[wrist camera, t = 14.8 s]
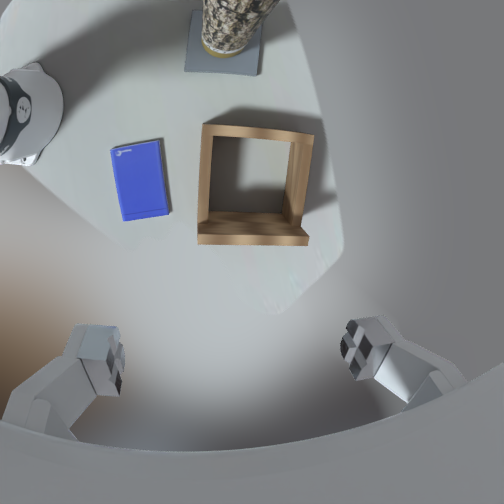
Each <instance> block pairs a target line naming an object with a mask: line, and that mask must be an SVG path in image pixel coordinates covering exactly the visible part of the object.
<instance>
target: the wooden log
mask: <svg viewBox="0 0 504 504" xmlns="http://www.w3.org/2000/svg"><path fill="white" fill-rule="evenodd" d="M279 1H280V0H203V14H202V39H201V40H202V45H203V47H204V49H205V50H206V51H207V52H208V53H209V54H210V55H212V56H214V57H218V58H230V57H233V56H235V55H237V54H239V53H240V52H241V51H242V50H243V49H244V47H245V46H246V45H247V43H248V42H249V40H250V39H251V38H252V36H253V35H254V33H255V32H256V31H257V29H258V28H259V27H260V25H261V24H262V23H263V21H264V20H265V19H266V17H267V16H268V15H269V13H270V12H271V11H272V9H273V8H274V7H275V6H276V4H277V3H278V2H279Z"/></svg>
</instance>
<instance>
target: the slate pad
mask: <svg viewBox="0 0 504 504" xmlns="http://www.w3.org/2000/svg"><path fill="white" fill-rule="evenodd" d="M202 14H203V10H193V11H192V18H191V24H190V31H189V38H188V45H187V53H186V61H185V69H184V71H185V72H208V73H225V74H237V75H247V76H257V67H258V58H259V49H260V40H261V31H262V24H261V25H260V27H259V28H258V29H257V31H256V32H255V33H254V35H253V36H252V38H251V39H250V40H249V42H248V43H247V45H246V46H245V47H244V49H243V50H242V51H241V52H240V53H239V54H237V55H235V56H233V57H230V58H218V57H214V56H212V55H210V54H209V53H208V52H207V51H206V50H205V49H204V47H203V45H202V40H201V39H202Z"/></svg>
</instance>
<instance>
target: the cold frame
mask: <svg viewBox="0 0 504 504" xmlns="http://www.w3.org/2000/svg"><path fill="white" fill-rule="evenodd" d="M213 136H231V137H245V138H257V139H268V140H278V141H286V142H291V146H290V154H289V161H288V169H287V177H286V185H285V192H284V199H283V207H282V214H281V213H257V212H226V211H208V208H209V189H210V172H211V157H212V143H213ZM313 142H314V135H311V134H306V133H301V132H294V131H286V130H278V129H269V128H259V127H248V126H236V125H220V124H202V137H201V152H200V169H199V189H198V216H197V238H198V244H204V245H281V246H308V241H309V236H308V234H307V233H306V232H305V231H304V230H303V229H302V227H301V221H302V215H303V209H304V203H305V197H306V190H307V184H308V177H309V170H310V163H311V156H312V149H313Z"/></svg>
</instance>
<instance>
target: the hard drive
mask: <svg viewBox="0 0 504 504" xmlns="http://www.w3.org/2000/svg"><path fill="white" fill-rule="evenodd" d="M110 151H111V158H112V165H113V171H114V177H115V183H116V188H117V193H118V199H119V204H120V208H121V213H122V218H123V221H131V220H137V219H143V218H150V217H157V216H163V215H169V207H168V200H167V193H166V187H165V180H164V172H163V165H162V157H161V148H160V140H156V141H150V142H144V143H139V144H133V145H128V146H123V147H118V148H114V149H111V150H110Z"/></svg>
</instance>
